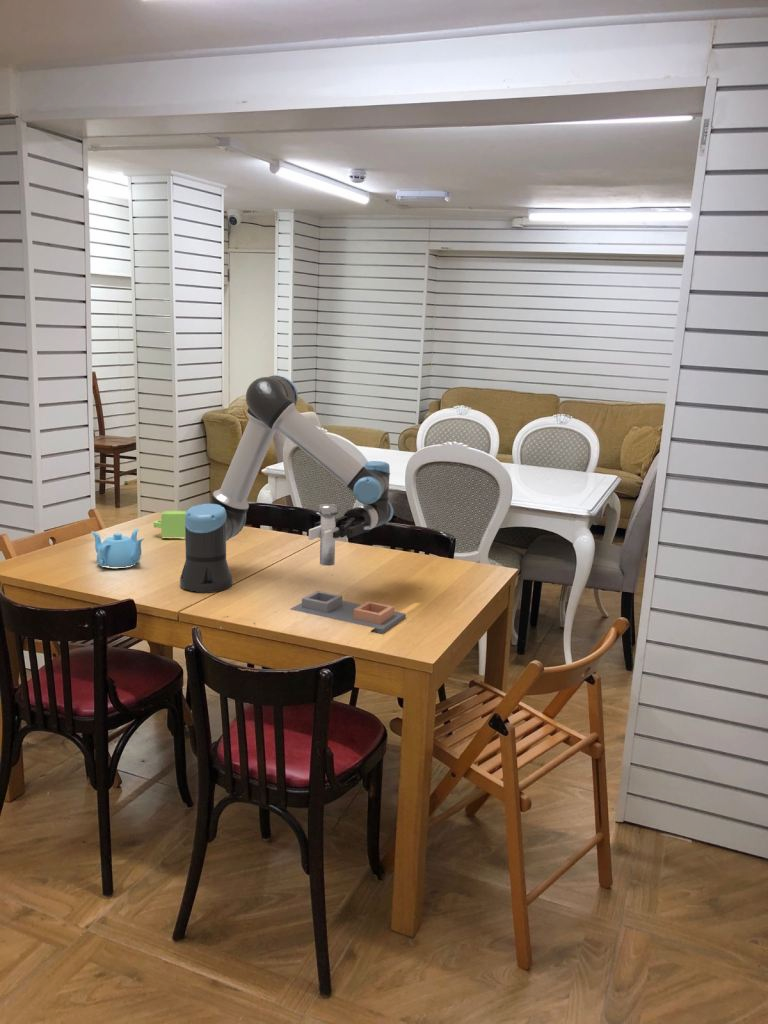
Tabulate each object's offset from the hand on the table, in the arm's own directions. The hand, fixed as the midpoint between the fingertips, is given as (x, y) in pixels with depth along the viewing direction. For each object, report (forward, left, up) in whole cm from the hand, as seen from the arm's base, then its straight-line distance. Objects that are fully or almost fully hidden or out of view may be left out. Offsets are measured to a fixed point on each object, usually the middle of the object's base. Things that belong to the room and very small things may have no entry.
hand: (317, 536), depth 204 cm
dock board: (+7, +5, -22) cm, 24 cm away
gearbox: (-86, +45, -22) cm, 100 cm away
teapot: (-77, +7, -22) cm, 81 cm away
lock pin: (0, +5, -9) cm, 10 cm away
